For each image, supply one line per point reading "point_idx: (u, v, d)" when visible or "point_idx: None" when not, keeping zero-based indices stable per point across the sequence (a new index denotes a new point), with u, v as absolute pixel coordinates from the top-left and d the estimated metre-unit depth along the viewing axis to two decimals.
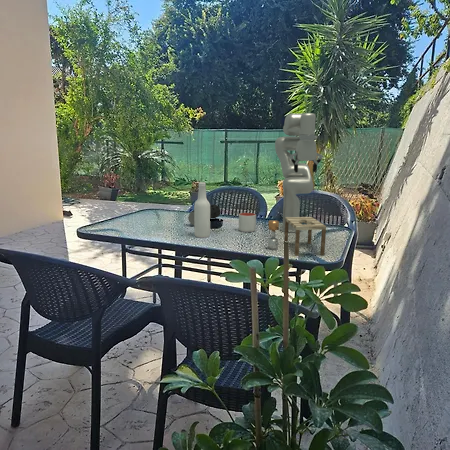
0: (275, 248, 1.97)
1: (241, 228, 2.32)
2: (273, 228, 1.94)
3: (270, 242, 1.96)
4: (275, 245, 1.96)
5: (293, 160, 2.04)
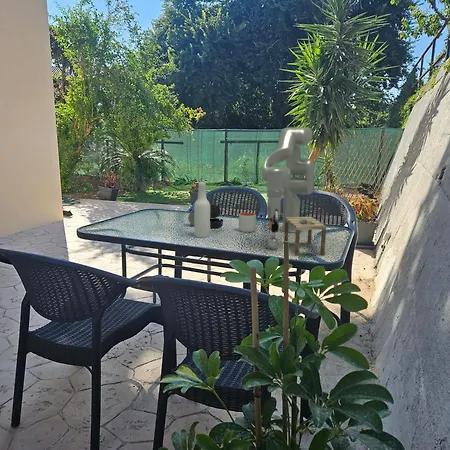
0: (275, 248, 1.97)
1: (241, 228, 2.32)
2: None
3: (270, 242, 1.96)
4: (275, 245, 1.96)
5: (277, 220, 1.91)
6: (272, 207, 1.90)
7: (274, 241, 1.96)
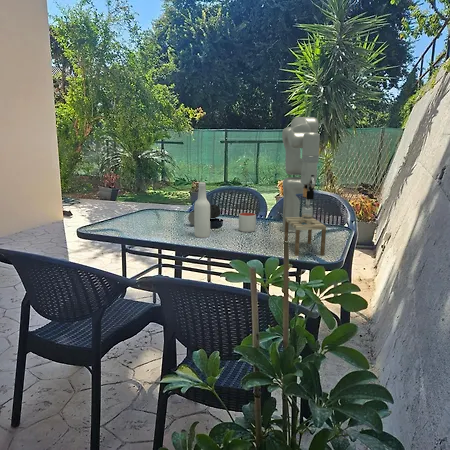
0: (310, 217, 1.89)
1: (241, 228, 2.32)
2: None
3: (305, 210, 1.89)
4: (310, 213, 1.89)
5: (313, 186, 1.84)
6: (308, 172, 1.82)
7: (309, 209, 1.88)
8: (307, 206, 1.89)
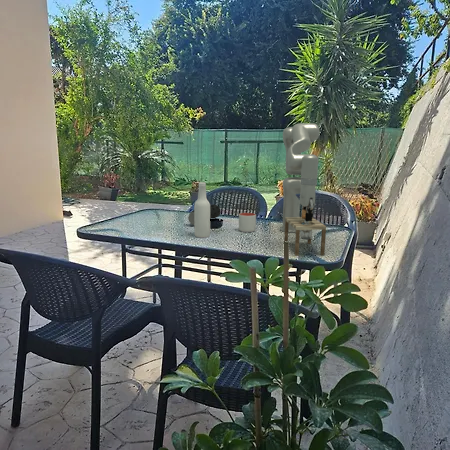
0: (308, 238, 1.92)
1: (241, 228, 2.32)
2: None
3: (303, 231, 1.91)
4: (308, 235, 1.91)
5: None
6: (307, 195, 1.84)
7: (308, 230, 1.91)
8: None
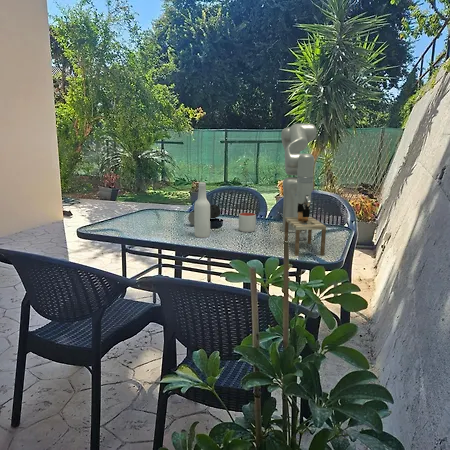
0: (304, 239, 1.98)
1: (241, 228, 2.32)
2: (303, 219, 1.96)
3: None
4: (304, 236, 1.98)
5: (309, 205, 1.90)
6: (303, 193, 1.91)
7: (303, 232, 1.97)
8: None
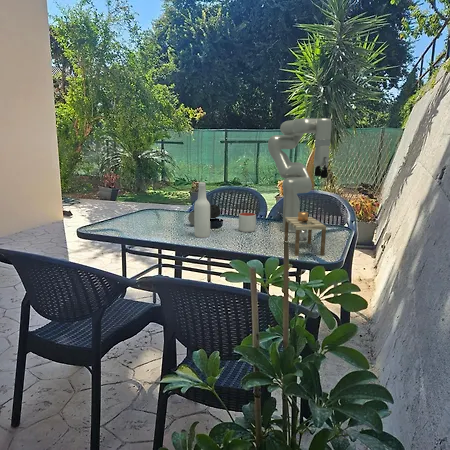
0: (304, 239, 1.98)
1: (241, 228, 2.32)
2: (303, 219, 1.96)
3: None
4: (304, 236, 1.98)
5: (327, 166, 1.99)
6: (321, 155, 2.00)
7: (303, 232, 1.97)
8: None
